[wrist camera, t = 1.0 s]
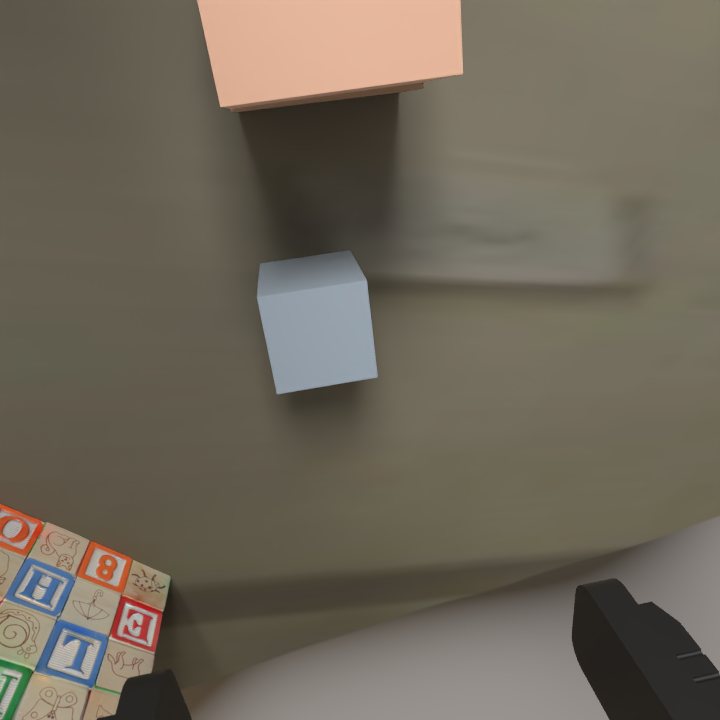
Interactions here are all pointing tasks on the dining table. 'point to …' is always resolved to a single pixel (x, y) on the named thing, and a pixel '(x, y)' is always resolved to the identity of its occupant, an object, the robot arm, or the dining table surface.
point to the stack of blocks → (71, 621)
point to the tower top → (327, 46)
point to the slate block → (316, 321)
